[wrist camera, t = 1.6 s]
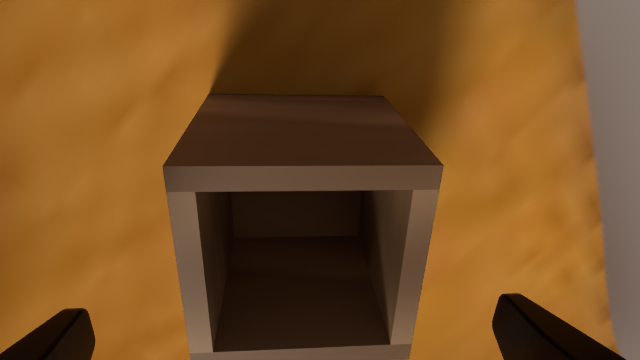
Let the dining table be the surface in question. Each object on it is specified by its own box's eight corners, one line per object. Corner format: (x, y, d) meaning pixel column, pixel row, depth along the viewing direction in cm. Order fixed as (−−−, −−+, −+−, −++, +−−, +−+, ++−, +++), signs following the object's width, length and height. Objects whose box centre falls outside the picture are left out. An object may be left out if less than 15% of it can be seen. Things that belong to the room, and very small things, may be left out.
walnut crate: (368, 239, 17) (408, 359, 12) (221, 242, 16) (192, 368, 11) (383, 96, 14) (443, 165, 9) (208, 94, 14) (162, 166, 8)
